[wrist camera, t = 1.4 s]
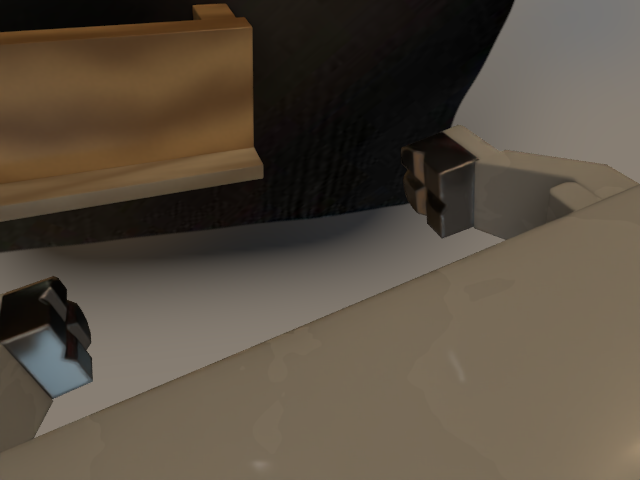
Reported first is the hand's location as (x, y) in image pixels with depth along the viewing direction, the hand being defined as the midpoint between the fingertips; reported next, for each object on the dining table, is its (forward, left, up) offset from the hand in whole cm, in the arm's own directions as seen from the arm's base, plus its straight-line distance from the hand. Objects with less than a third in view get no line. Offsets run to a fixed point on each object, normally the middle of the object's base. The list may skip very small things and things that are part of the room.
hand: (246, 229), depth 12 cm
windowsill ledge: (+9, -4, -30) cm, 31 cm away
